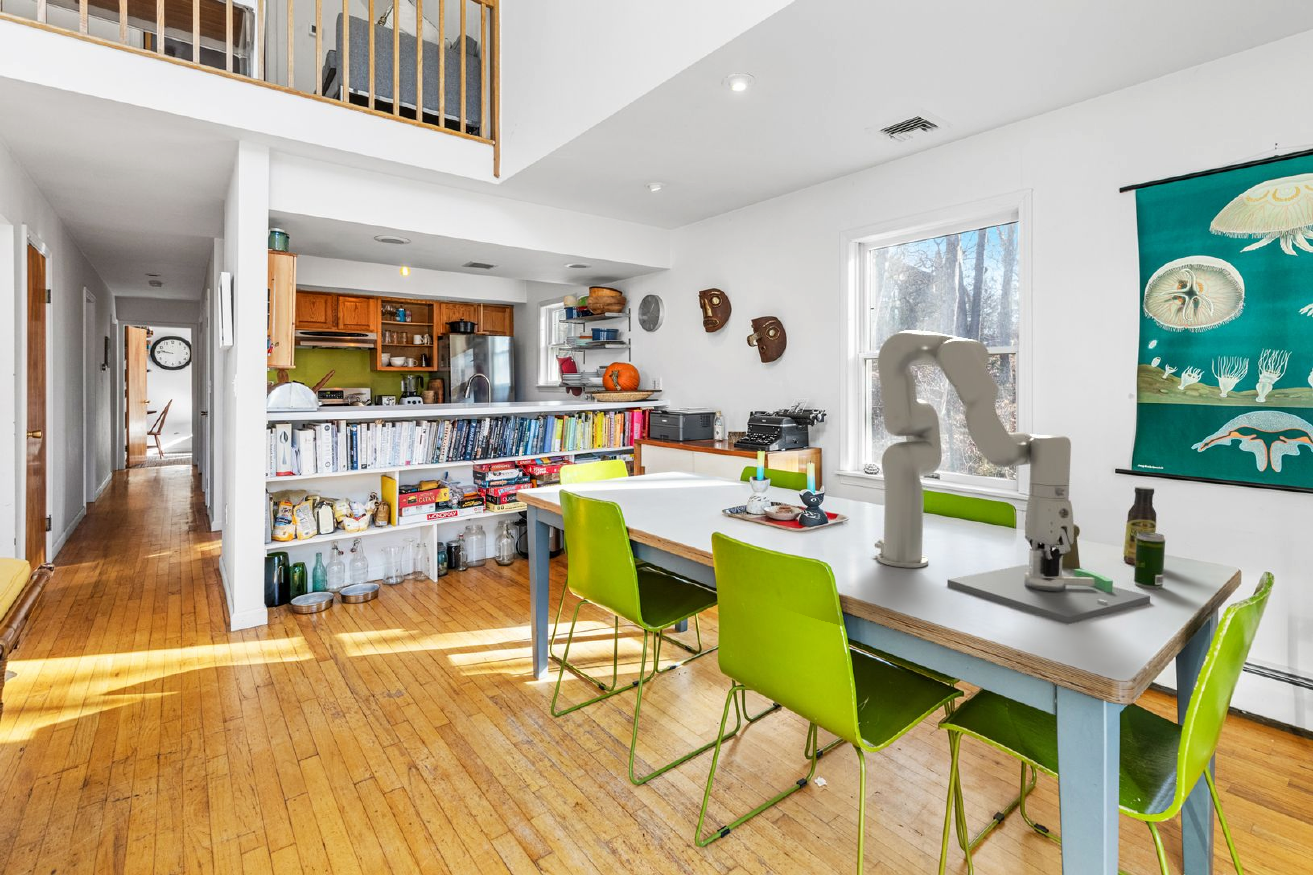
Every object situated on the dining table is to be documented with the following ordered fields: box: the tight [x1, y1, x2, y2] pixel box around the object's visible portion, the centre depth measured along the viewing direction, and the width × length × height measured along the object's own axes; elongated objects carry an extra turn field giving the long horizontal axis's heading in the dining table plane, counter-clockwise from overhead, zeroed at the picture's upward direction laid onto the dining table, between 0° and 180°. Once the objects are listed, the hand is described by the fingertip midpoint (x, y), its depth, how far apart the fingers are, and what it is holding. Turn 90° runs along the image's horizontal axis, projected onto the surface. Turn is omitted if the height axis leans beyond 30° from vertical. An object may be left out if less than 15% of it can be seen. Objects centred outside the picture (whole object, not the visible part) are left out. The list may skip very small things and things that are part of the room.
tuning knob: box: [1024, 548, 1095, 591], centre depth 147 cm, size 14×8×8 cm, turn 83°
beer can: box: [1133, 532, 1166, 590], centre depth 153 cm, size 5×5×12 cm
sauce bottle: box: [1123, 486, 1157, 565], centre depth 172 cm, size 7×6×20 cm
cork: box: [1062, 524, 1081, 570], centre depth 170 cm, size 6×6×11 cm
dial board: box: [946, 564, 1151, 625], centre depth 147 cm, size 28×28×4 cm
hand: (1045, 573), depth 147 cm, fingers closed on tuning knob, 2 cm apart
